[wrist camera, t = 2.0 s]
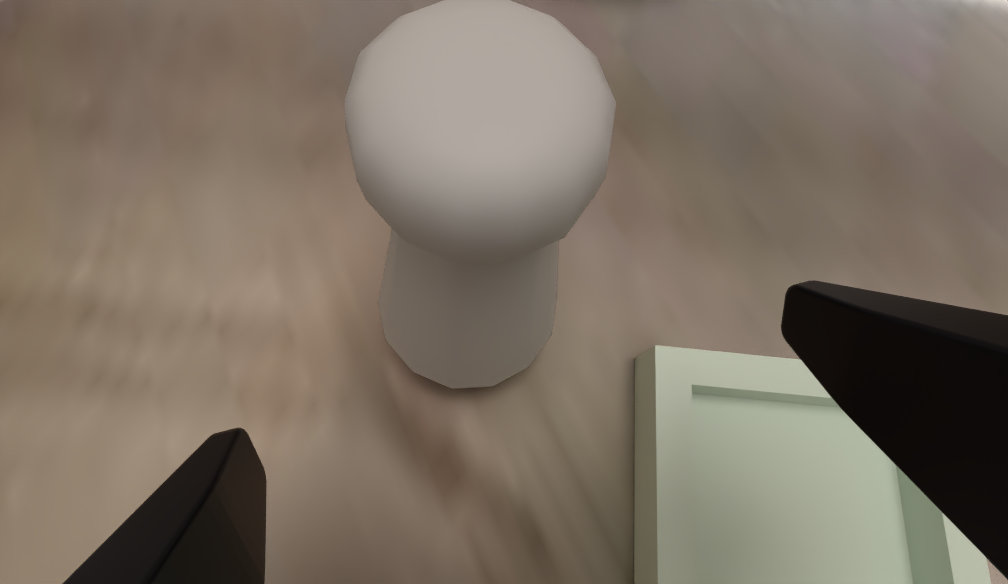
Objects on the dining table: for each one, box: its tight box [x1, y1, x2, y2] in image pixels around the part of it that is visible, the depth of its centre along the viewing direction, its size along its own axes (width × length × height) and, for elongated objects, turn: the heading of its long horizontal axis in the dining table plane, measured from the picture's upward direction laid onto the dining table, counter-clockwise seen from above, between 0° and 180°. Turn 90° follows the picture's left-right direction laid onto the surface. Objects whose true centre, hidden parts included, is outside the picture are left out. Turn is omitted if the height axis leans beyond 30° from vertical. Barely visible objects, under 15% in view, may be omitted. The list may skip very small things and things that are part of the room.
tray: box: [634, 345, 991, 584], centre depth 18 cm, size 10×10×2 cm
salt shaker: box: [345, 0, 616, 389], centre depth 14 cm, size 6×6×13 cm
